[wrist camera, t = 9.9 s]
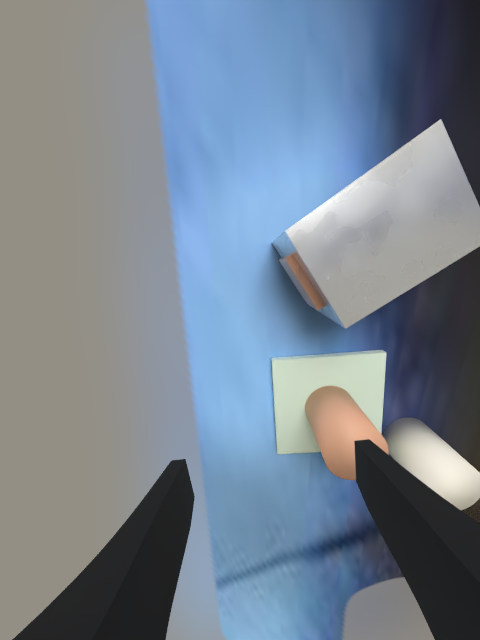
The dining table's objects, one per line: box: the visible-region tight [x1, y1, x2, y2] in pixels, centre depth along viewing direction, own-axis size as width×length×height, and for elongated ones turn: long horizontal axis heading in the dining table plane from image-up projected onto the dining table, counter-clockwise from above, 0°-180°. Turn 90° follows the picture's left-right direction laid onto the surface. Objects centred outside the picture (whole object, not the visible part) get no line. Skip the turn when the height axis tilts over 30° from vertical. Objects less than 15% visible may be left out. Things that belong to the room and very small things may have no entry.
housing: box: [272, 119, 480, 329], centre depth 14 cm, size 9×6×6 cm
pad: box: [271, 350, 386, 454], centre depth 20 cm, size 9×9×1 cm
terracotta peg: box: [305, 386, 389, 480], centre depth 17 cm, size 4×4×5 cm
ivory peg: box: [383, 417, 480, 510], centre depth 18 cm, size 4×4×5 cm
